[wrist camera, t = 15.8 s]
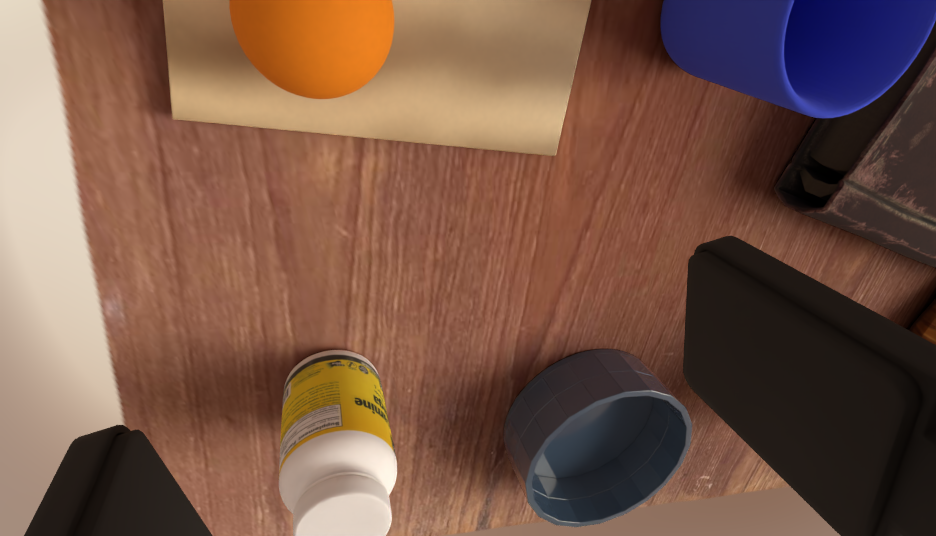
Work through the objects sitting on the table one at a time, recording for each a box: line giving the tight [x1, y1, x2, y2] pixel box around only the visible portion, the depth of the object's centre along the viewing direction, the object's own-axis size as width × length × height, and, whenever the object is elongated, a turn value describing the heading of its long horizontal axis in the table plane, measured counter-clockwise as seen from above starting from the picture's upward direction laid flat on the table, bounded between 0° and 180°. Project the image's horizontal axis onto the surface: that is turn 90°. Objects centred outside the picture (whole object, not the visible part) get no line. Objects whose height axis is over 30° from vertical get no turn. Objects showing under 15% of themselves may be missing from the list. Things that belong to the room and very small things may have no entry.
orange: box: [229, 0, 394, 99], centre depth 21 cm, size 6×6×6 cm
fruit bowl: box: [503, 349, 692, 527], centre depth 41 cm, size 13×13×5 cm
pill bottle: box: [279, 350, 397, 536], centre depth 30 cm, size 6×6×11 cm
